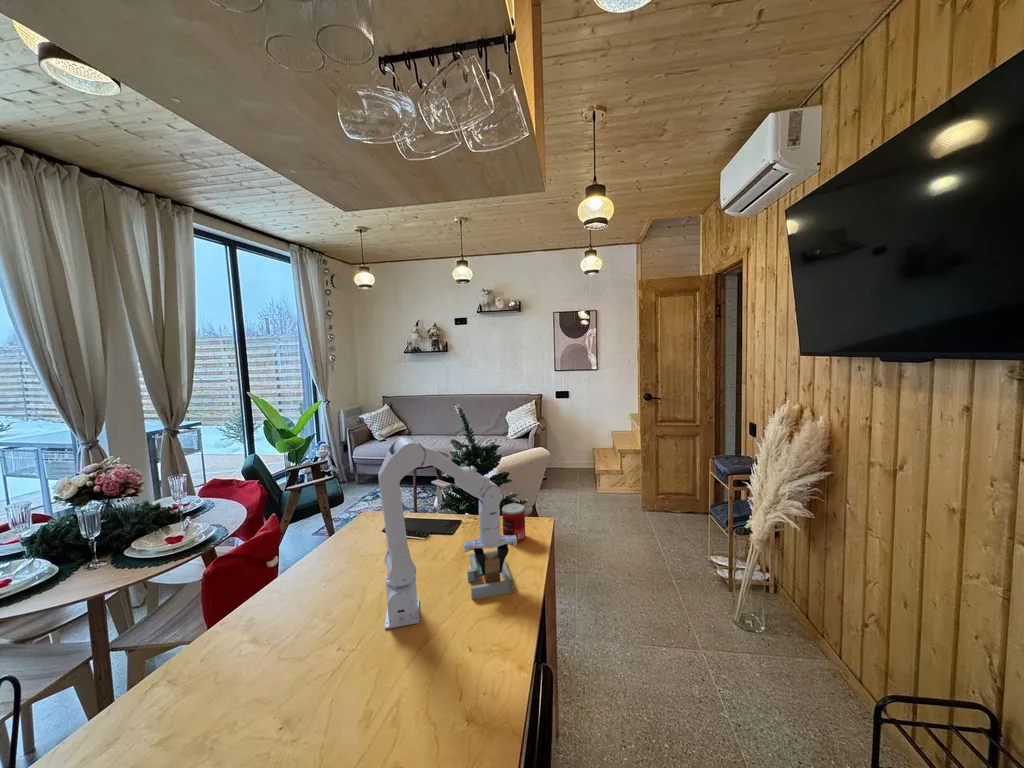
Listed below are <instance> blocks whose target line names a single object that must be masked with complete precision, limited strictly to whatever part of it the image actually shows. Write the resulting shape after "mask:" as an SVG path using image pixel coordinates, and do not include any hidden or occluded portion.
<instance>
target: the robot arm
mask: <svg viewBox="0 0 1024 768" xmlns="http://www.w3.org/2000/svg"><path fill="white" fill-rule="evenodd" d="M419 466H421V467H422V468H426V467H429V466H433V467H434V468H436V469H437V470H440V471H441V472H443V473H444V474H446V475H448V476H449V477H452V478H454V483H455V485H456V487H458V488H460V489H462V490H463V491H465V492H466V493H468V494H469V495H471V496H473V497H475V498H477V499H478V524H479V525H478V526H479V538H478V537H477V538H474V539H473V540H472V539H471V540H468V541H464V542H463V550H464V553H468V552H469V551H473V552H474V553H475V556H476V558H477V560H478V562H479V564H480V566H481V571H482V575H481V576H484V575H485V566H484V556H485V555H484V552H485V551H484V549H495V548H496V550H497V552H498V556H499V559H500V574H502V567H503V563H504V561H506V557H507V555H508V553H509V545H513V546H517V545H518V543H517V538H516V536H515V535H512V536H505V535H503V534H502V535H501V510H500V508H501V507H500V504H501V502H502V500H503V497H504V493H502V490H501V488H500V486H498V485H497V484H496V483H494V482H493V481H492V480H491V479H490V478H489V477H488V475H487V476H483V475H482V474H481V473H479V472H477V471H478V469H477V468H476V467H474V466H471V467H470V466H462V467H461V466H459V465H457V464H456V463H455V462H453V461H451V459H449V458H448V457H446V456H444V455H443V454H441V453H440V452H438V451H437V450H436V449H434V448H432V447H431V446H429V445H427V444H425V443H424V442H421V441H419V440H417V441H416V440H415V439H414V438H413V437H411V436H407V435H405V436H401V437H398V438H397V439H395V441H394V442H393V443H392V444H390V446H389V447H388V448H387V453H386V455H385V458H384V460H383V462H382V464H381V466H380V468H379V470H378V474H377V475H378V478H377V479H378V484H379V493H380V500H381V507H382V514H383V522H384V528H385V529H384V530H385V536H386V553H385V556H384V564H385V566H386V568H387V575H386V577H385V586H386V588H385V590H386V602H387V603H386V604H387V605H386V613H385V621H384V629H386V630H388V629H394V628H399V627H405V626H409V625H415V624H419V622H420V598H419V597H418V595H417V594H418V593H417V592H418V591H417V578H416V576H417V567H416V565H415V563H414V561H413V559H412V556H411V552H410V548H409V543H408V538H407V537H408V535H407V531H406V524H405V522H406V521H405V514H404V509H403V508H404V506H403V500H402V493H401V492H402V491H401V485H400V482H401V480H402V479H403V478H404V477H405V476H406V475H407V474H409V473H410V472H412V471H413V470H416V469H417V468H418V467H419ZM474 553H473V554H474Z"/></svg>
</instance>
